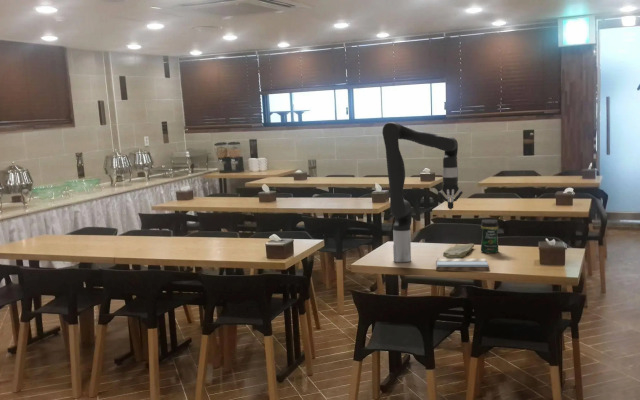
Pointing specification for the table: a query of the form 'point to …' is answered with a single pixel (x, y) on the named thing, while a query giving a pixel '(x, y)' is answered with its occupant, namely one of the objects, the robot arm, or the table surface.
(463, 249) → the stone slab
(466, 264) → the tilted plank
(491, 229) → the coffee jar
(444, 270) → the floor board
